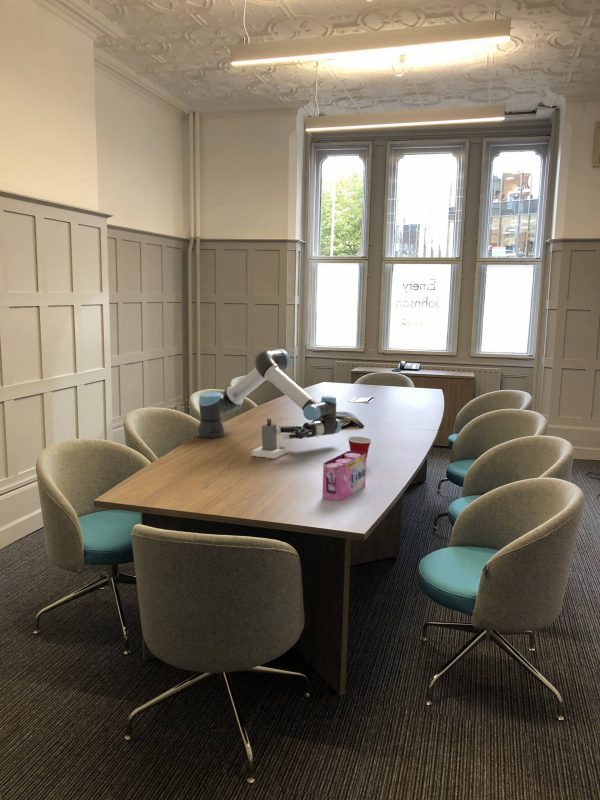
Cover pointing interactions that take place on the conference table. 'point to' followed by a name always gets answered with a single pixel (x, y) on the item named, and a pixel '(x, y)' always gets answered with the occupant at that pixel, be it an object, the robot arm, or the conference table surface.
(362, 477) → the gum box
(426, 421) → the conference table surface
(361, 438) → the plastic cup
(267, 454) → the socket
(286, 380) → the robot arm
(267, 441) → the plug
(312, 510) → the conference table surface
